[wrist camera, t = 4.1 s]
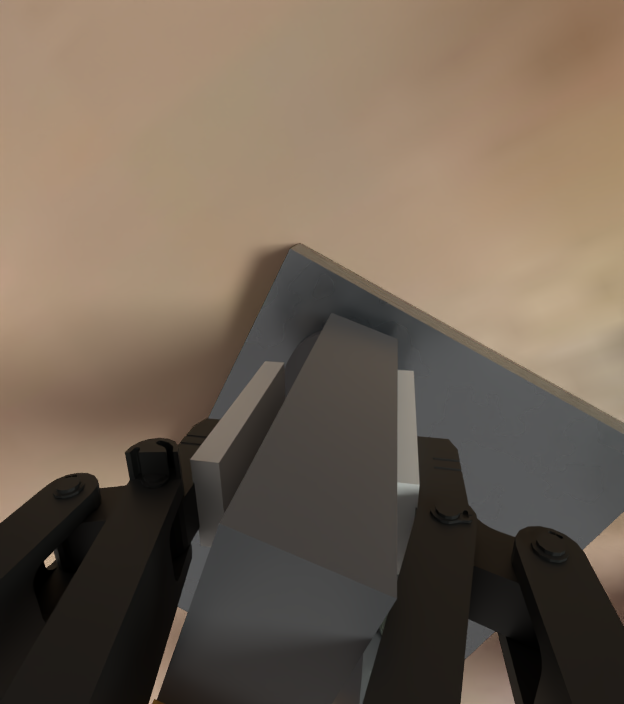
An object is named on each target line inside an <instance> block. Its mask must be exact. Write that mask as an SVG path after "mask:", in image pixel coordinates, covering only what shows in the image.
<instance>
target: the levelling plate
mask: <svg viewBox="0 0 624 704" xmlns="http://www.w3.org/2000/svg"><path fill="white" fill-rule="evenodd" d="M331 313H334V314H336V315H339V316H341V317H344V318H346V319H349V320H351V321H354V322H356V323H359V324H361V325H364V326H366V327H369V328H371V329H374V330H376V331H379V332H381V333H384V334H386V335H389V336H391V337H394V338H396V339H398V370H407V371H414V387H415V406H416V425H417V436H421V437H432V438H443V439H449V440H450V441H451V442H452V444H453V445H454V446H455V447H456V448H457V449H458V454H459V459H460V464H461V469H462V470H461V471H462V474H463V479H464V484H465V489H466V494H467V499H468V504H469V506H471V508H472V509H473V510H474V512H475V513H476V515H477V519H479V520H480V521H481V522H482V523H484V524H485V525H487V526H488V527H490V528H492V529H495V530H497V531H499V532H502V533H505V534H508V535H511V536H514V537H515V536H516V535H517V533H518V532H519V530H521V529H523V528H526V527H528V526H542V527H546V528H551V529H554V530H556V531H559V532H561V533H563V534H565V535H567V536H568V537H569V538H571V539H572V540H573V541H575V542H576V543H577V544H578V545H579V546H580V548H581V549H582V550H583V549H584V548H585V547H586V546H587V545H588V544H589V543H590V542H592V541H593V540H594V539H595V538H596V537H597V536H598V535H599V534H600V533H601V532H602V531H603V530H604V529H605V528H607V527H608V526H609V525H610V524H611V523H612V522H613V521H614V520H615V519H616V518H617V517H618V516H619V515H620V514H622V513H623V512H624V423H623V422H621V421H619V420H617V419H615V418H614V417H612V416H610V415H608V414H606V413H605V412H603V411H601V410H599V409H597V408H596V407H594V406H592V405H590V404H588V403H587V402H585V401H583V400H581V399H580V398H578V397H576V396H574V395H572V394H571V393H569V392H567V391H565V390H563V389H562V388H560V387H558V386H556V385H554V384H553V383H551V382H549V381H547V380H545V379H544V378H542V377H540V376H538V375H536V374H535V373H533V372H531V371H529V370H527V369H526V368H524V367H522V366H520V365H518V364H517V363H515V362H513V361H511V360H509V359H508V358H506V357H504V356H502V355H501V354H499V353H497V352H495V351H493V350H492V349H490V348H488V347H486V346H484V345H483V344H481V343H479V342H477V341H475V340H474V339H472V338H470V337H468V336H466V335H465V334H463V333H461V332H459V331H457V330H456V329H454V328H452V327H450V326H448V325H447V324H445V323H443V322H441V321H439V320H438V319H436V318H434V317H432V316H431V315H429V314H427V313H425V312H423V311H422V310H420V309H418V308H416V307H414V306H413V305H411V304H409V303H407V302H405V301H404V300H402V299H400V298H398V297H396V296H395V295H393V294H391V293H389V292H387V291H386V290H384V289H382V288H380V287H378V286H377V285H375V284H373V283H371V282H369V281H368V280H366V279H364V278H362V277H361V276H359V275H357V274H355V273H353V272H352V271H350V270H348V269H346V268H344V267H343V266H341V265H339V264H337V263H335V262H334V261H332V260H330V259H328V258H326V257H325V256H323V255H321V254H319V253H317V252H316V251H314V250H312V249H310V248H308V247H307V246H305V245H303V244H301V243H299V244H297V245H296V246H294V247H292V248H290V250H289V252H288V254H287V256H286V258H285V260H284V262H283V264H282V266H281V268H280V271H279V273H278V275H277V277H276V279H275V281H274V283H273V285H272V287H271V289H270V291H269V293H268V295H267V297H266V300H265V302H264V304H263V306H262V308H261V310H260V312H259V314H258V316H257V318H256V320H255V322H254V324H253V326H252V328H251V331H250V333H249V335H248V337H247V339H246V341H245V343H244V345H243V347H242V349H241V351H240V353H239V355H238V357H237V360H236V362H235V364H234V366H233V368H232V370H231V372H230V374H229V376H228V378H227V380H226V382H225V384H224V386H223V388H222V391H221V393H220V395H219V397H218V399H217V401H216V403H215V405H214V407H213V409H212V411H211V413H210V415H209V417H208V418H210V419H221V418H222V417H223V416H224V414H225V413H226V412H227V411H228V409H229V408H230V407H231V405H232V404H233V403H234V401H235V400H236V399H237V397H238V396H239V395H240V393H241V392H242V391H243V390H244V388H245V387H246V386H247V384H248V383H249V382H250V380H251V379H252V378H253V376H254V375H255V374H256V372H257V371H258V370H259V369H260V367H261V366H262V365H263V363H264V362H265V361H269V362H284V367H286V364H287V362H288V360H289V358H290V357H291V355H292V353H293V352H294V350H295V349H296V347H297V346H298V345H299V344H300V343H301V342H302V341H303V340H304V339H305V338H307V337H308V336H310V335H311V334H313V333H315V332H317V331H320V330H322V329H323V328H324V326H325V324H326V322H327V320H328V318H329V316H330V314H331ZM191 544H192V560H191V563H190V567H189V570H188V573H187V577H186V580H185V583H184V587H183V590H182V593H181V597H180V600H179V603H178V607H179V608H181V609H183V610H185V611H187V612H188V610H189V608H190V605H191V602H192V599H193V596H194V593H195V591H196V588H197V585H198V582H199V579H200V576H201V574H202V571H203V568H204V565H205V562H206V559H207V557H208V554H209V551H210V548H211V547H206V546H201V544H200V536H199V530H198V531H197V533H196V535H195V536H194V538H193V540H192V541H191ZM398 576H399V575H398V574H397V580H398ZM387 615H388V614H387ZM386 619H387V616H386V617H385V619H384V621H383V622H382V624H381V625H380V627H379V629H380V632H381V634H382V633H383V629H384V626H385V622H386ZM494 632H495V631H493V630H491V629H489V628H487V627H485V626H482V625H480V624H478V623H476V622H473V621H471V620H469V619H468V629H467V639H466V650H465V659H466V658H467V657H468V656H469V655H470V654H471V653H472V652H473V651H475V650H476V649H477V648H478V647H479V646H480V645H481V644H482V643H483V642H484V641H485V640H486V639H487V638H489V637H490V636H491V635H492V634H493V633H494Z"/></svg>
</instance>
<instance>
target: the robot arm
mask: <svg viewBox="0 0 624 704" xmlns="http://www.w3.org/2000/svg"><path fill="white" fill-rule="evenodd" d="M285 399H286V397H285V367H284V362H269V361H265V362H264V363H263V365H262V366H261V367H260V369H259V370H258V371H257V372H256V374H255V375H254V376H253V378H252V379H251V380H250V382H249V383H248V384H247V386H246V387H245V388H244V390H243V391H242V392H241V393H240V395H239V396H238V397H237V399H236V400H235V401H234V403H233V404H232V405H231V407H230V408H229V409H228V411H227V412H226V413H225V414H224V416H223V417H222V418H221V419H210V418H207V419H205V420H203V421H201V422H200V423H198V424H196V425H195V426H194V427H193V428H192V429H191V430H190V431H189V433H188V434H187V436H185V437H184V438H183V440H182V441H181V443H180V444H178V445H177V444H176V442H175V441H172V440H170V439H164V438H155V439H148V440H145V441H142V442H139V443H137V444H135V445H133V446H131V447H130V448H129V449H128V450H127V451H126V452H125V455H126V461H127V466H128V472H129V477H130V481H129V482H128V484H127V485H125V486H118V487H108V488H99V483H98V480H97V478H96V477H95V476H94V475H91V474H88V473H75V474H70V475H66V476H64V477H61V478H59V479H56V480H55V481H53V482H51V483H50V484H48V485H47V486H46V487H44V488H43V489H42V490H41V491H39V492H38V493H37V494H36V495H34V496H33V497H32V498H31V499H30V500H28V501H27V502H26V503H25V504H23V505H22V506H21V507H20V508H19V509H17V510H16V511H15V512H14V513H12V514H11V515H10V516H9V517H7V518H6V519H5V520H4V521H3V522H1V523H0V704H149V700H150V697H151V694H152V690H153V687H154V684H155V680H156V677H157V674H158V670H159V667H160V664H161V660H162V657H163V654H164V650H165V647H166V644H167V640H168V637H169V633H170V630H171V627H172V623H173V620H174V617H175V613H176V610H177V607H178V603H179V600H180V597H181V593H182V590H183V587H184V583H185V580H186V577H187V573H188V570H189V567H190V563H191V560H192V544H191V541H192V540H193V538H194V536H195V535H196V533H197V531H198V530H199V536H200V544H201V546H206V547H211V545H212V542H213V540H214V537H215V534H216V531H217V528H218V525H219V523H220V521H221V519H222V517H223V515H224V513H225V512H226V510H227V508H228V506H229V504H230V502H231V500H232V498H233V497H234V495H235V493H236V491H237V489H238V487H239V485H240V483H241V482H242V480H243V478H244V476H245V474H246V472H247V470H248V468H249V467H250V465H251V463H252V461H253V459H254V457H255V455H256V453H257V452H258V450H259V448H260V446H261V444H262V442H263V440H264V438H265V436H266V435H267V433H268V431H269V429H270V427H271V425H272V423H273V421H274V420H275V418H276V416H277V414H278V412H279V410H280V408H281V406H282V405H283V403H284V401H285ZM461 470H462V469H461V464H460V459H459V454H458V449H457V448H456V447H455V446H454V445H453V444H452V442H451V441H450V440H449V439H443V438H432V437H421V436H417V425H416V406H415V387H414V371H407V370H398V411H397V574H398V575H399V576H398V580H397V600H396V601H395V603H394V604H393V606H392V608H391V609H390V611H389V612H388V615H387V619H386V622H385V626H384V629H383V633H382V636H381V640H380V643H379V647H378V650H377V654H376V658H375V661H374V665H373V668H372V672H371V675H370V679H369V682H368V686H367V689H366V693H365V697H364V700H363V704H460V702H461V692H462V681H463V671H464V660H465V650H466V639H467V629H468V619H469V620H471V621H473V622H476V623H478V624H480V625H482V626H485V627H487V628H489V629H491V630H493V631H496V632H498V636H499V640H500V644H501V648H502V652H503V657H504V661H505V665H506V669H507V673H508V677H509V681H510V685H511V689H512V693H513V697H514V701H515V704H624V626H623V624H622V622H621V620H620V618H619V617H618V615H617V613H616V611H615V609H614V607H613V605H612V604H611V602H610V600H609V598H608V596H607V594H606V592H605V590H604V589H603V587H602V585H601V583H600V581H599V579H598V577H597V575H596V574H595V572H594V570H593V568H592V566H591V564H590V562H589V560H588V559H587V557H586V555H585V553H584V551H583V550H582V549H581V548H580V546H579V545H578V544H577V543H576V542H575V541H573V540H572V539H571V538H569V537H568V536H567V535H565V534H563V533H561V532H559V531H556V530H554V529H551V528H546V527H542V526H528V527H526V528H523V529H521V530H519V532H518V533H517V535H516V536H515V537H514V536H511V535H508V534H505V533H502V532H499V531H497V530H495V529H492V528H490V527H488V526H487V525H485V524H484V523H482V522H481V521H480V520H479V519H477V515H476V513H475V512H474V510H473V509H472V508H471V506H469V504H468V499H467V494H466V489H465V484H464V479H463V474H462V471H461ZM53 551H54V554H55V558H56V560H55V561H54V562H53V563H52V564H51V565H50V566H48V567H47V568H46V567H45V564H44V560H45V559H46V558H47V557H48V556H49V555H50V554H51V553H52V552H53Z"/></svg>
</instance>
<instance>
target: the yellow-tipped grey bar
mask: <svg viewBox="0 0 624 704" xmlns="http://www.w3.org/2000/svg"><path fill="white" fill-rule="evenodd" d="M285 397H286V399H285V401H284V403H283V405H282V406H281V408H280V410H279V412H278V414H277V416H276V418H275V420H274V421H273V423H272V425H271V427H270V429H269V431H268V433H267V435H266V436H265V438H264V440H263V442H262V444H261V446H260V448H259V450H258V452H257V453H256V455H255V457H254V459H253V461H252V463H251V465H250V467H249V468H248V470H247V472H246V474H245V476H244V478H243V480H242V482H241V483H240V485H239V487H238V489H237V491H236V493H235V495H234V497H233V498H232V500H231V502H230V504H229V506H228V508H227V510H226V512H225V513H224V515H223V517H222V519H221V521H220V523H219V525H218V528H217V531H216V534H215V537H214V540H213V542H212V545H211V548H210V551H209V554H208V557H207V559H206V562H205V565H204V568H203V571H202V574H201V576H200V579H199V582H198V585H197V588H196V591H195V593H194V596H193V599H192V602H191V605H190V608H189V610H188V613H187V616H186V619H185V622H184V625H183V627H182V630H181V633H180V636H179V639H178V641H177V644H176V647H175V650H174V653H173V656H172V658H171V661H170V664H169V667H168V670H167V673H166V675H165V678H164V681H163V684H162V687H161V690H160V692H159V695H158V698H157V700H155V699H154V701H153V703H152V704H332V703H333V701H334V699H335V698H336V696H337V695H338V693H339V691H340V690H341V688H342V687H343V685H344V683H345V682H346V680H347V679H348V677H349V675H350V674H351V672H352V670H353V669H354V667H355V666H356V664H357V662H358V661H359V659H360V658H361V656H362V654H363V653H364V651H365V650H366V648H367V646H368V645H369V643H370V641H371V640H372V638H373V637H374V635H375V633H376V632H377V630H378V629H379V627H380V625H381V624H382V622H383V621H384V619H385V617H386V616H387V614H388V612H389V611H390V609H391V608H392V606H393V604H394V603H395V601H396V600H397V411H398V339H396V338H394V337H391V336H389V335H386V334H384V333H381V332H379V331H376V330H374V329H371V328H369V327H366V326H364V325H361V324H359V323H356V322H354V321H351V320H349V319H346V318H344V317H341V316H339V315H336V314H334V313H331V314H330V316H329V318H328V320H327V322H326V324H325V326H324V328H323V329H322V330H320V331H317V332H315V333H313V334H311V335H310V336H308V337H307V338H305V339H304V340H303V341H302V342H301V343H300V344H299V345H298V346H297V347H296V349H295V350H294V352H293V353H292V355H291V357H290V358H289V360H288V362H287V364H286V367H285Z"/></svg>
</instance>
